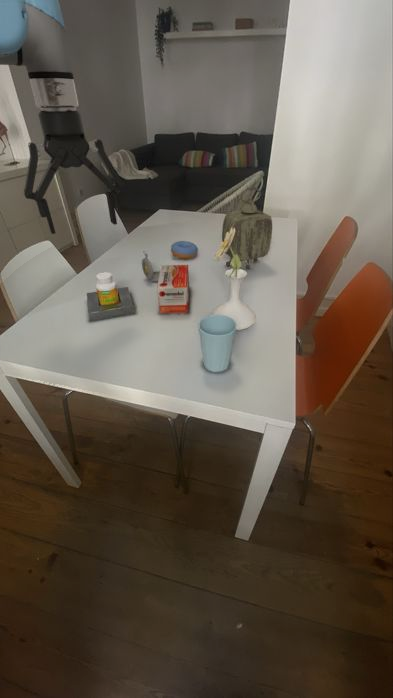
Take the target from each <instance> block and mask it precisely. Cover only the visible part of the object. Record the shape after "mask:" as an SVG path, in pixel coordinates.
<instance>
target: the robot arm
mask: <svg viewBox="0 0 393 698" xmlns="http://www.w3.org/2000/svg"><path fill="white" fill-rule="evenodd" d="M61 8H62V7H61V4H60V2H59V0H0V66H17V67H20V66H21V67H22V66H23V67H24V66H25V68H26V72H27V76H28V79H29V84H30V87H31V93H32V96H33V99H34V103H35V107H36V108H38V109H39V110H40V111H39V112H38V114H37V115H38V119H39V123H40V128H41V131H42V136H43V143H34V142H33V141H29V142H28V144H27V147H28V152H29V159H28V165H27V170H26V175H25V183H24V188H23V196H24V197H25V198H26V199H27V200H34V201H35V202H36V206H37V210H38V213H39V216H40V217H41V218H46V220H47V224H48V228H49V231H50V233H51V234H52V235H55V234H56V230H55V226H54V225H55V224H54V223H53V219H52V214H51V211H50V207H49V204H48V200H47V199H46V198H44V196H45V195H46V193H47V191H48V189H49V187H50V184H51V182H52V181H53V178H54V177H55V175H56V173H57V172H58V170H59V168H63V169H70V168H71V167H73V168H81V167H82V166H85V167H86V169H88V170H89V172H91V173H92V174H93V175H94V177H95V178H97V180H98V181H100V182H101V183H102V185H104V186H105V188H106V189H108V191H105V196H106V202H107V207H108V214H109V220H110V223H111V224H113V225H115V226H116V225H118V221H117V215H116V209H118V208H119V199H118V192H119V190H121V189H124V188H125V184H124V182H123V181H122V179H121V177H120V175H119V174H118V172H117V170H116V169H115V167H114V165H113V163H112V162H111V160H110V159H109V157H108V155H107V153H106V150H105V147H104V144H103V141H102V140H101V139H99V138H94V139H93V140H90V141H88V140H87V139H86V136H85V135H86V134H85V130H84V124H83V119H82V114H81V113H80V111H78V110H77V108H79V106H80V103H79V99H78V93H77V89H76V83H75V79H74V73H73V68H72V67H73V66H72V61H71V55H70V51H69V50H70V49H69V44H68V38H67V29H66V25H65V21H64V18H63V13H62V9H61ZM90 149H91V150H92V152H93V153H95V154H96V155H97V157H98V158H99V160H100V161H101V163H102V165H103V167H104V168H105V170H106V172H107V173H108V175H109V176H110V178H111V179H112V181H113V183H112V182H111V181H110V180H109V179H108V177H106V176H105V175H104V174H103V173H102V172H101V171H100V169H98V167H96V166H95V165H94V163H93V162H92V161H91V160H90V159H89V158H88V157H87V155H88V153H89V151H90ZM43 152H45V153H46V154H47V155H48V156H49V157H50V161H49V163H48V165H47V167H46V169H45V172H44V173H43V175H42V178H41V180H40V181H39V184H38V186H37V188H36V190H35V191H34V186H35V181H36V174H37V170H38V169H37V168H38V163H39V157H41V156H42V155H43Z"/></svg>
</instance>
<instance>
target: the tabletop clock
mask: <svg viewBox="0 0 393 698" xmlns="http://www.w3.org/2000/svg"><path fill="white" fill-rule="evenodd" d="M249 191H257V192H258V194H259V195H258V196H257V197H256V198H254V199H253V198H252V197H251V196H249V197H248V199H247V200H246V199H244V198H243V195H244V194H245V192H249ZM261 195H262V192H261V190H260V189H259V188H257V187H254V186H252V187H251V186H250V187H246V188H245V189H243V190H242V191H241V193H240V196H239V199H240V200H241V202H242V203H244V205H242V207H241V209H237V210H234V211H230V212H228V213H226V214H225V216H224V218H223V222H222V223H223V224H222V229H221V230H222V231H221V242H224V239H225V236H226V233H227V232H228V233H229V232H230V229H231V227H232V230H233V229H234V228H235V234H234V237H233V240H232V242H231V244H230V247H231V248H232V250H233V253H234V255H236V254H237V255H238V257H239V259H240V261H241V262H246V265H245V269H246V270H250V269H251V264H250V261H253V262H257V261H258V259H262V258H264V257H266V256H268V254H269V253H270V248H271V243H272V237H273V219H272V216H271V215H270V214H267V213H265V212H263V211H261V210H259V209H258V207H257V205H256V204H254V203H255V202H257V201H258V200H259V199H260V198H261ZM228 235H229V234H228ZM225 255H227V256H228V257H229V258H230V259H229V260H228V261H226V262H225V266H226V267H230V266H231V260H232V258H233V255H232V252H231V250H230V248H229V249H228V250H227V252H226V253H225Z"/></svg>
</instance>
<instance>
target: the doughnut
mask: <svg viewBox="0 0 393 698" xmlns="http://www.w3.org/2000/svg"><path fill="white" fill-rule="evenodd" d="M198 251H199V248H198V246H197V245H196V244H195V243H194V242H191V241H186V240H179V241H175V242H174V243H172V244H171V247H170V253H171V254H172V255H173V256H174V257H175V258H178V259H184V260H185V259H186V260H187V259H193V258H195V257H196V256H197V255H198Z"/></svg>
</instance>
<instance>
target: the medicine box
mask: <svg viewBox="0 0 393 698" xmlns="http://www.w3.org/2000/svg"><path fill="white" fill-rule="evenodd" d="M159 271H160V275H159V280H158V282H157V286H156V292H157V299H158V306H159V314H178V313H179V314H181V313H184V314H185V313H189V306H190V305H189V303H190V302H189V301H190V273H189V264H170V265H169V264H166V265H165V264H163V265H161V266H160V270H159Z"/></svg>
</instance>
